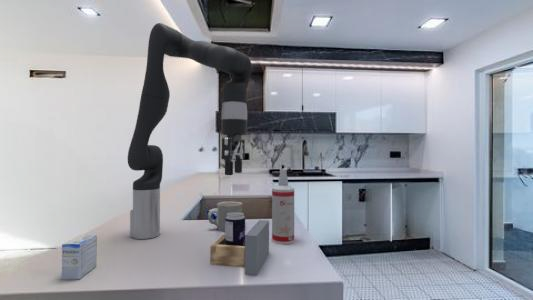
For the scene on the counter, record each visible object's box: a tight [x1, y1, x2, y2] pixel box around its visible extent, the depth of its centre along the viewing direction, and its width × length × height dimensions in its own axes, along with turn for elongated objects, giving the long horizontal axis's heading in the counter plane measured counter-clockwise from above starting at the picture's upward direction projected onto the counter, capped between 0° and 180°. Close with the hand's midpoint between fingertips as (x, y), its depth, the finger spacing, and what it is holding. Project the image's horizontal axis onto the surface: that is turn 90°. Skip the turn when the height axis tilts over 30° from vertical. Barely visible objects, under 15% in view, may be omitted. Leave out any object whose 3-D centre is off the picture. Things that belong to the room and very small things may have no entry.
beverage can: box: [224, 211, 246, 246], centre depth 82 cm, size 6×6×12 cm
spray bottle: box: [271, 168, 295, 246], centre depth 98 cm, size 8×8×25 cm
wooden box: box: [209, 234, 245, 268], centre depth 82 cm, size 11×11×5 cm
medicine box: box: [61, 234, 98, 281], centre depth 73 cm, size 8×4×9 cm, turn 5°
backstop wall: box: [244, 219, 270, 277], centre depth 79 cm, size 3×16×10 cm, turn 168°
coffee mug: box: [207, 201, 243, 233], centre depth 114 cm, size 13×10×10 cm
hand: (233, 173), depth 84 cm, fingers open, 8 cm apart
